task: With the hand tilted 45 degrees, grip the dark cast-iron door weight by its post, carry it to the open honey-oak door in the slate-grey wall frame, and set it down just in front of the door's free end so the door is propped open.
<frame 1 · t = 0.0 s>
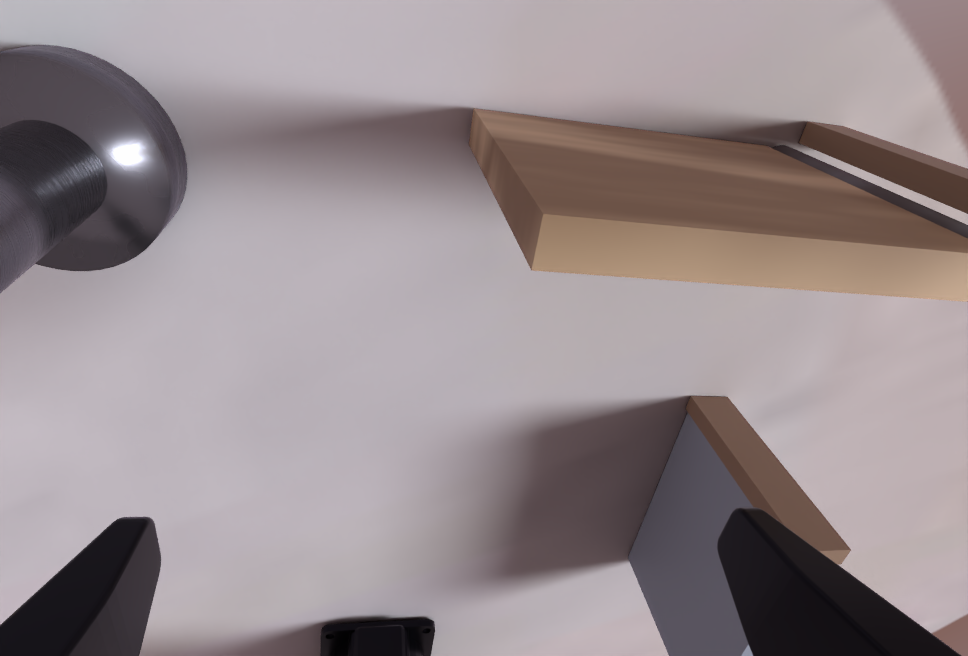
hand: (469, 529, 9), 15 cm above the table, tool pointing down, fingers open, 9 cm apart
door: (706, 191, 17), point 5 cm above the table, hinge at 0.0°
door weight: (79, 154, 19), on the table
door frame: (713, 386, 28), on the table
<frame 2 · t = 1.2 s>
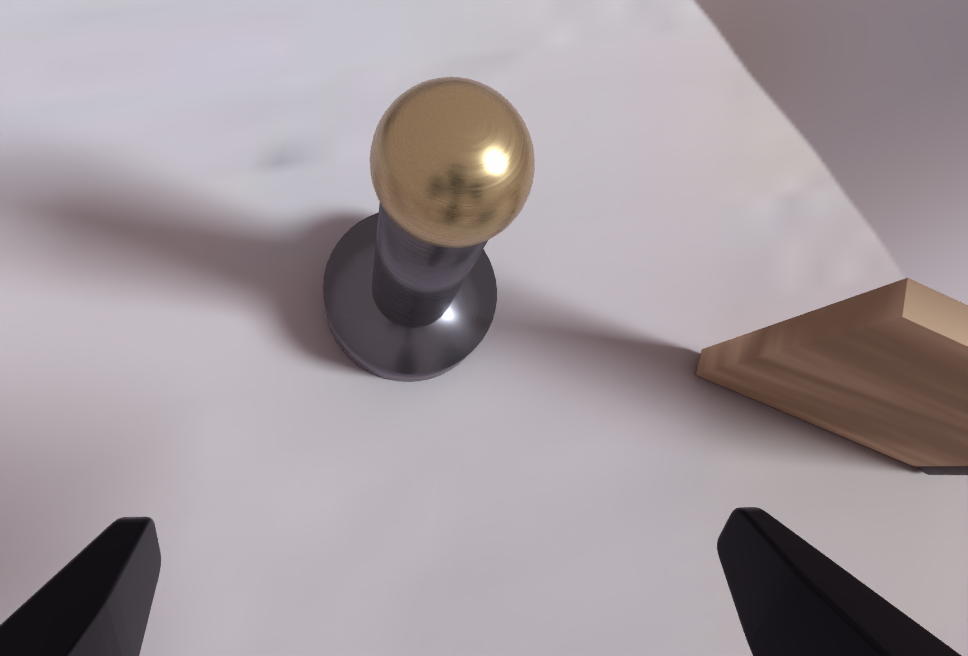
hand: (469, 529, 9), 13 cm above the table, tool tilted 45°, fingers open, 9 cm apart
door: (927, 402, 21), point 5 cm above the table, hinge at 0.0°
door weight: (408, 302, 24), on the table
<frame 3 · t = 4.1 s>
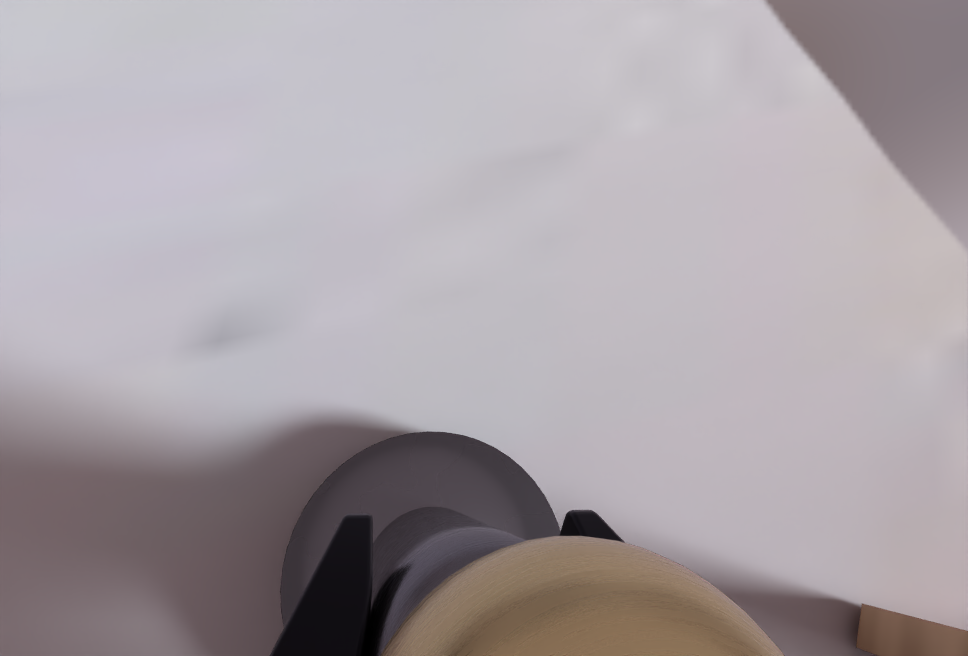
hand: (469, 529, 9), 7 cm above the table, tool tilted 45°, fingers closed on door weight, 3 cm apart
door weight: (421, 563, 15), on the table, touching gripper
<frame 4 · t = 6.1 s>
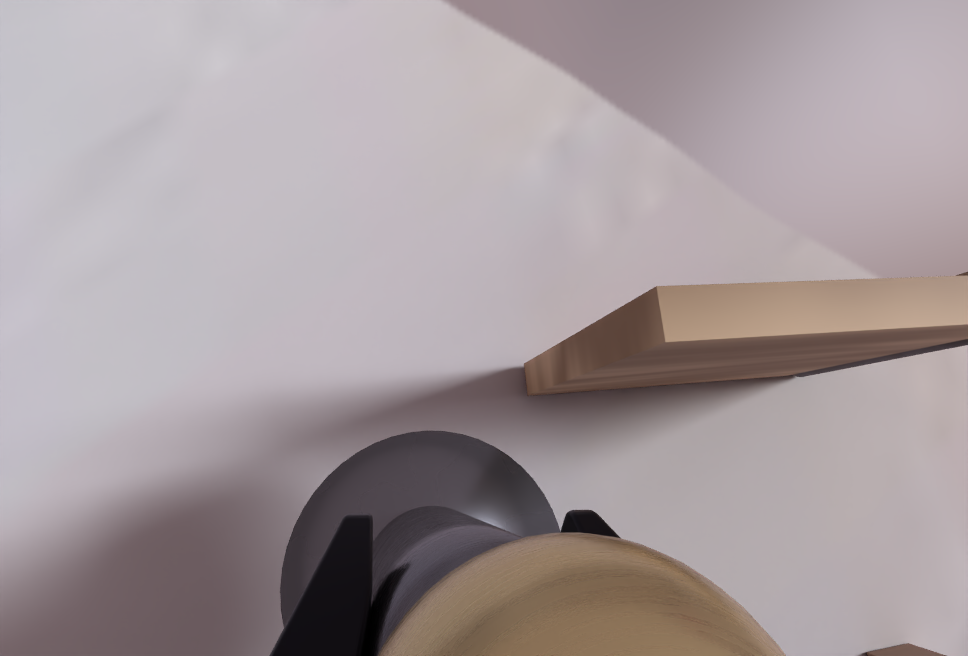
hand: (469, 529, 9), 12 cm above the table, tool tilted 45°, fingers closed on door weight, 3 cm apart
door: (762, 344, 18), point 5 cm above the table, hinge at 0.0°
door weight: (421, 562, 15), point 5 cm above the table, touching gripper
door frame: (884, 631, 23), on the table
when the fingers open (7 cm above the table, at t = 8.3 s): door weight stays where it is, on the table.
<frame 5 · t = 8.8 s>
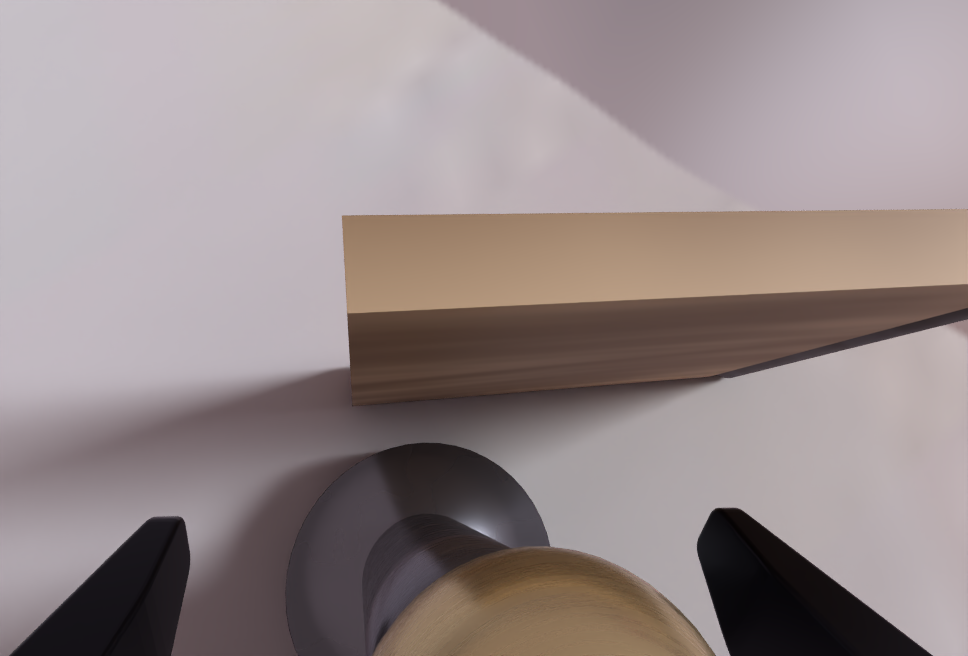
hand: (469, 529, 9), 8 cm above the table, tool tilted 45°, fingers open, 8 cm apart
door: (639, 331, 13), point 5 cm above the table, hinge at 0.0°
door weight: (417, 565, 16), on the table
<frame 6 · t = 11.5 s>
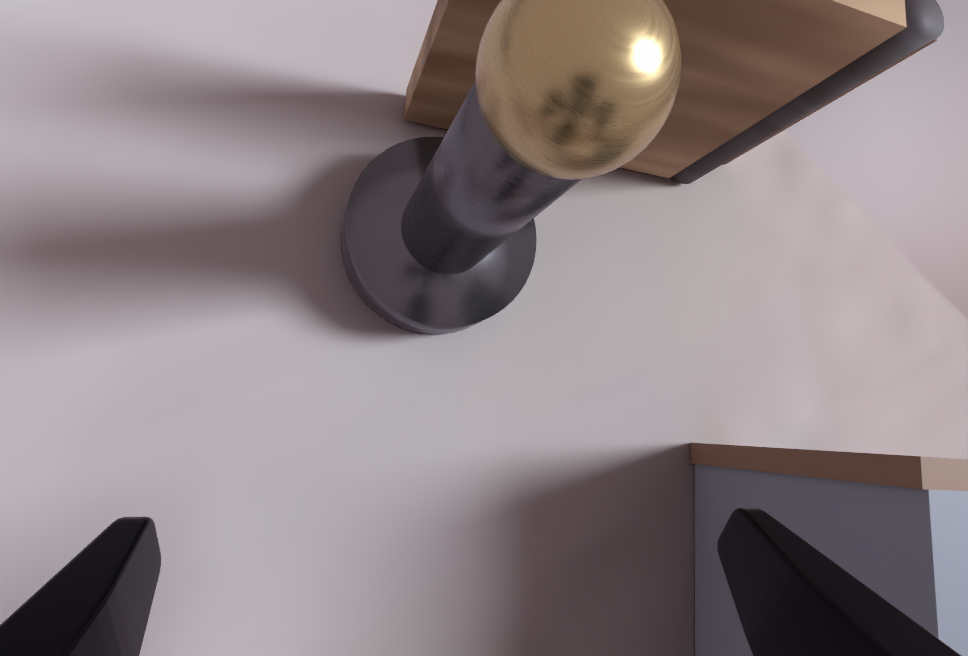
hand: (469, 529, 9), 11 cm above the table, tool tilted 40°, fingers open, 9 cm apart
door: (632, 69, 18), point 5 cm above the table, hinge at 0.0°
door weight: (432, 246, 21), on the table
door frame: (711, 429, 24), on the table
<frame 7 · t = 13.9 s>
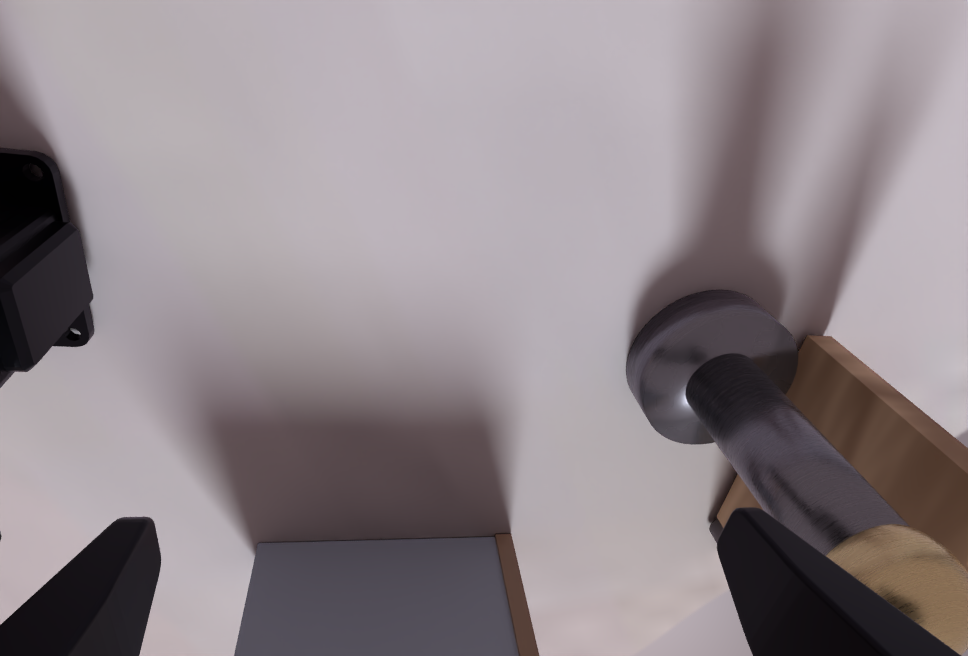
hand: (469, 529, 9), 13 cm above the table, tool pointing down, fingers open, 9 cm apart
door: (829, 530, 24), point 5 cm above the table, hinge at 0.0°
door weight: (698, 356, 25), on the table
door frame: (519, 546, 30), on the table
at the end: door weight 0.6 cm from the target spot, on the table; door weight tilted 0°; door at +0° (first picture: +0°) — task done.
